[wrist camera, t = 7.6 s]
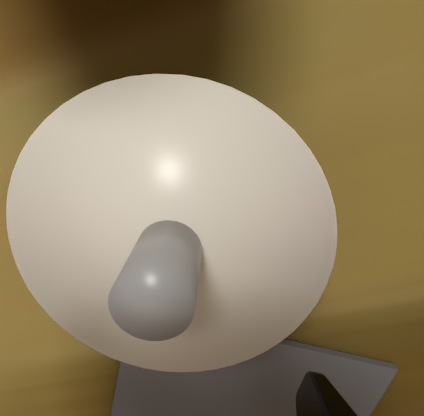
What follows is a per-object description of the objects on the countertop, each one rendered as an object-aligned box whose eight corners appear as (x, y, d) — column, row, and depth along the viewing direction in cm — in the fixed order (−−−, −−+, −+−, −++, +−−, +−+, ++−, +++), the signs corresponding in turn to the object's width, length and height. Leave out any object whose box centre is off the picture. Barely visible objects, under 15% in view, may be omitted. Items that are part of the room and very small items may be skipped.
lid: (383, 123, 12) (466, 149, 8) (275, 378, 17) (290, 478, 13) (23, 32, 11) (-94, 7, 7) (18, 324, 16) (-54, 410, 12)
